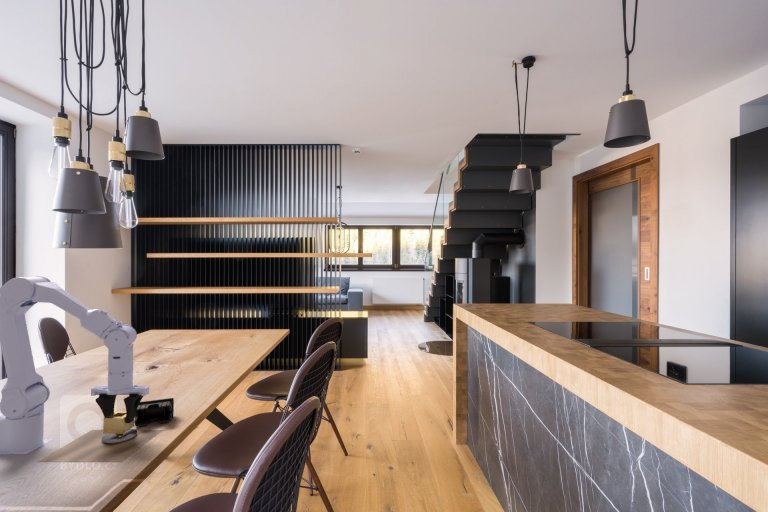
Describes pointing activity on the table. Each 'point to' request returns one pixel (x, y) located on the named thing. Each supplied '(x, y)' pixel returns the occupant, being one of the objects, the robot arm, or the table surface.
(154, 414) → the end cap
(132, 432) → the stand
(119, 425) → the collar
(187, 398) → the table surface
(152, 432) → the board
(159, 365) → the table surface
